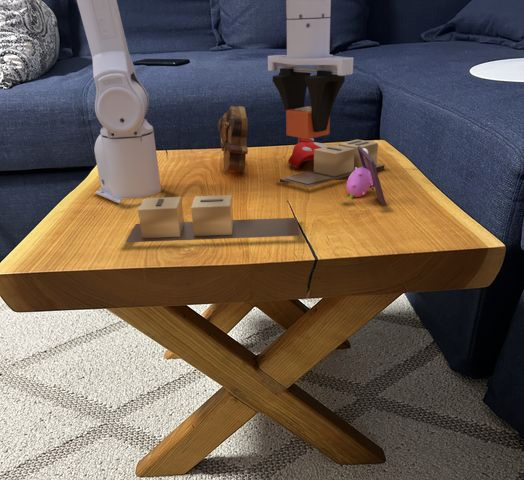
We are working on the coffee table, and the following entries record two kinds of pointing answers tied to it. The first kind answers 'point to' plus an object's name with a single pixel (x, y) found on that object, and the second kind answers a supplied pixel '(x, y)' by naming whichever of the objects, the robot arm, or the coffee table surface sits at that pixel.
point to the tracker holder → (304, 151)
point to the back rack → (336, 163)
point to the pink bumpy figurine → (364, 178)
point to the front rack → (202, 221)
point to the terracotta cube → (302, 123)
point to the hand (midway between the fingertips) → (307, 129)
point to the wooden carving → (234, 138)
